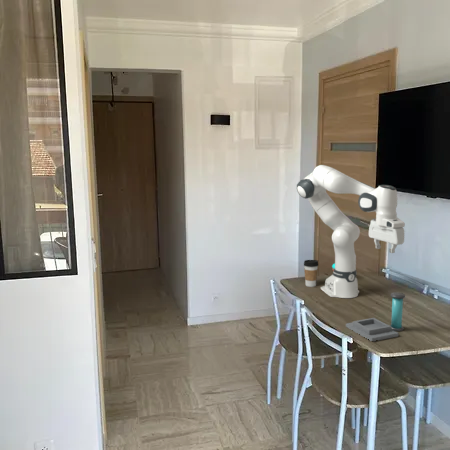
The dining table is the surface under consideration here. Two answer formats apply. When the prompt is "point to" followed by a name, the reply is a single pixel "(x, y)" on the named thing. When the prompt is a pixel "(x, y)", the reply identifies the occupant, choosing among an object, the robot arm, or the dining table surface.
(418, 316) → the dining table surface
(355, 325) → the board
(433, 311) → the dining table surface
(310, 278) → the coffee cup
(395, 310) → the teal and grey rod
